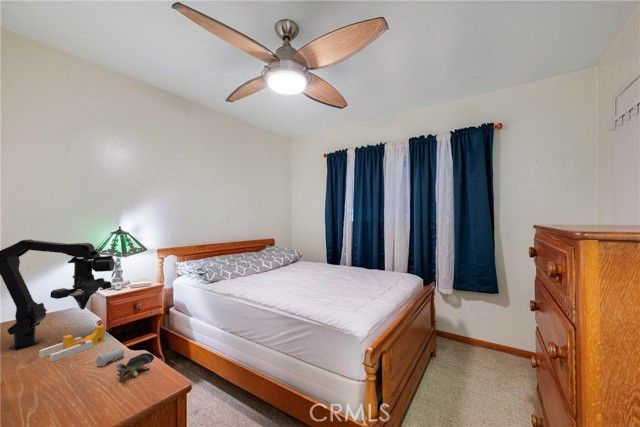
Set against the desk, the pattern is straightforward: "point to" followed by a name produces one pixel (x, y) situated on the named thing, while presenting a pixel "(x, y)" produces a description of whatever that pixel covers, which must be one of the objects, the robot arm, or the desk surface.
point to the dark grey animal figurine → (134, 365)
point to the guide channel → (58, 352)
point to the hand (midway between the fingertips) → (82, 309)
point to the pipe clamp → (95, 337)
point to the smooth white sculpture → (109, 356)
